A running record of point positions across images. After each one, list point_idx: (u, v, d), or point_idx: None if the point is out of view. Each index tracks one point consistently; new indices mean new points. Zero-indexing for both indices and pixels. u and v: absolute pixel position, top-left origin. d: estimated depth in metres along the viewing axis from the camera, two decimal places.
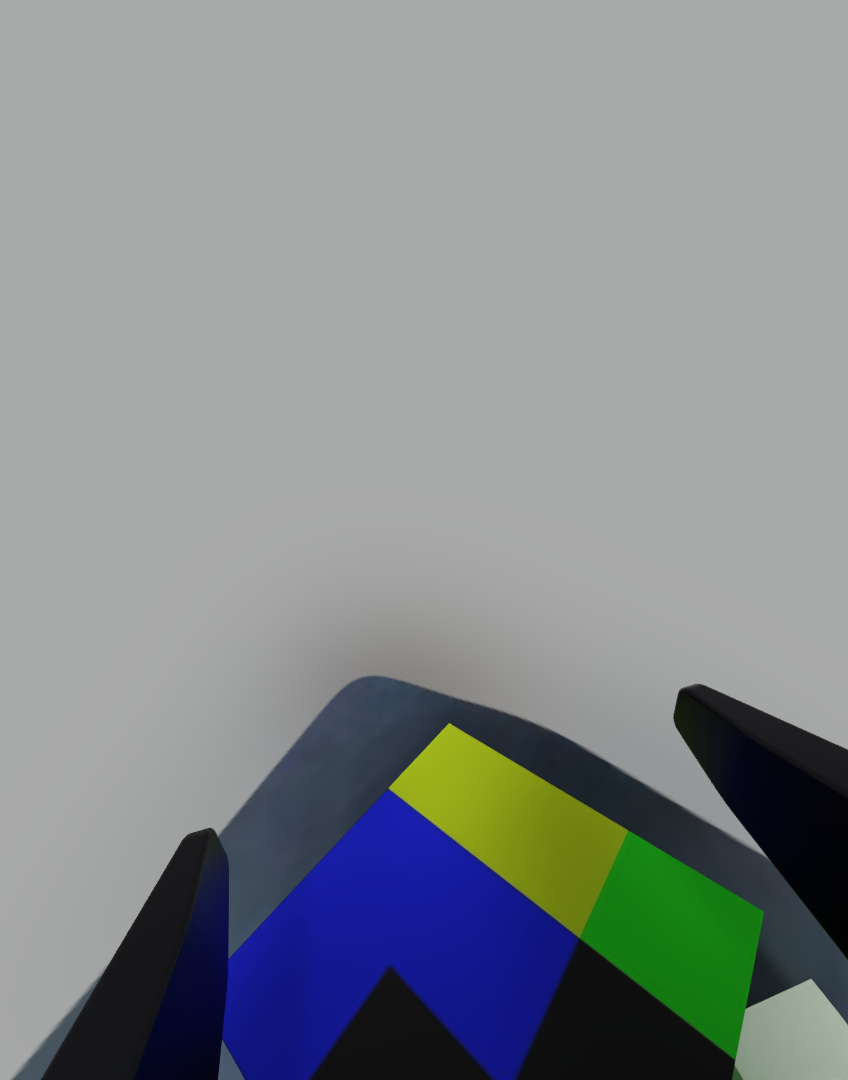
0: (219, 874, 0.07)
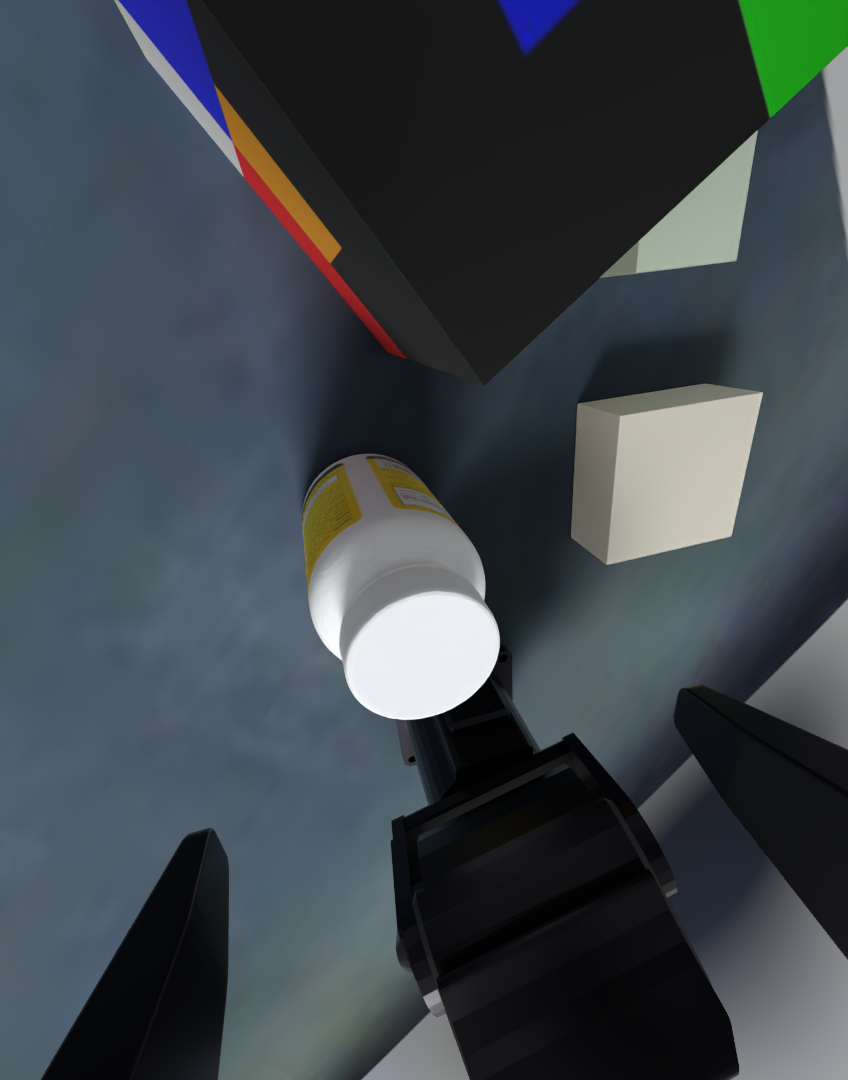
0: (219, 874, 0.07)
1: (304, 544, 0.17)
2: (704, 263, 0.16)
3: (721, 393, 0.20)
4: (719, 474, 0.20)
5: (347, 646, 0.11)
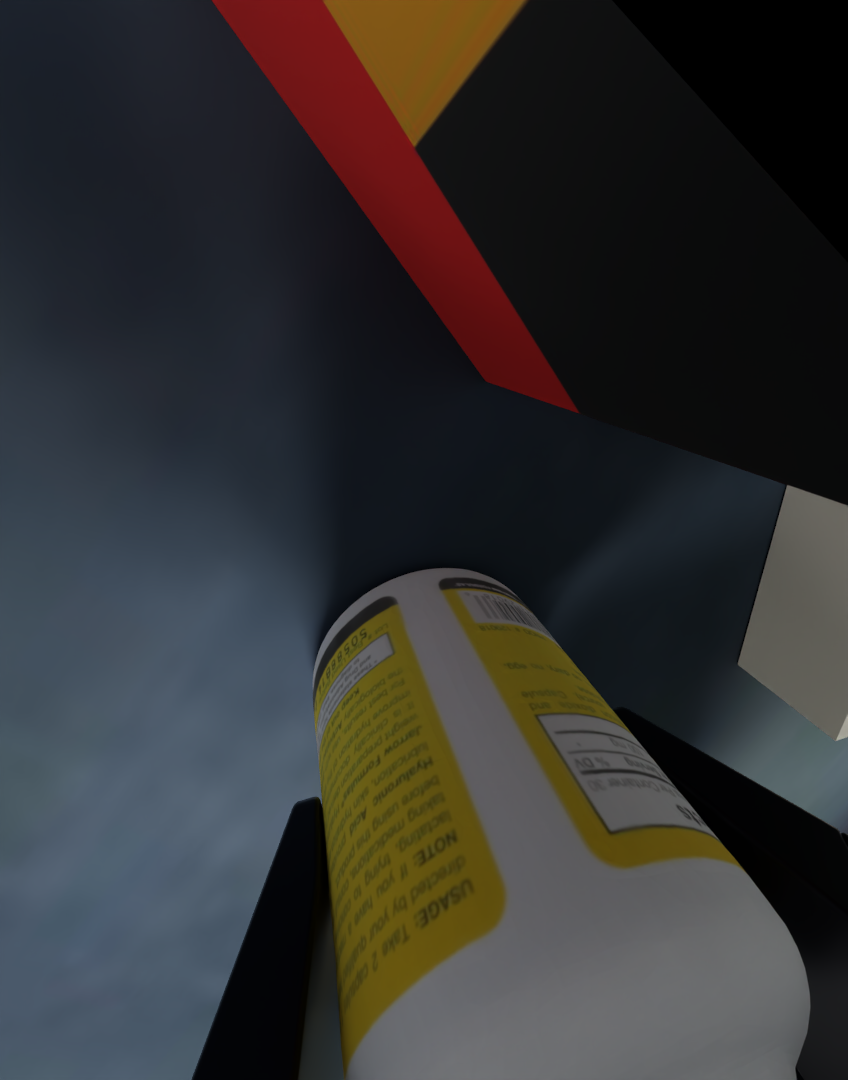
0: None
1: (322, 791, 0.08)
2: None
3: None
4: None
5: None
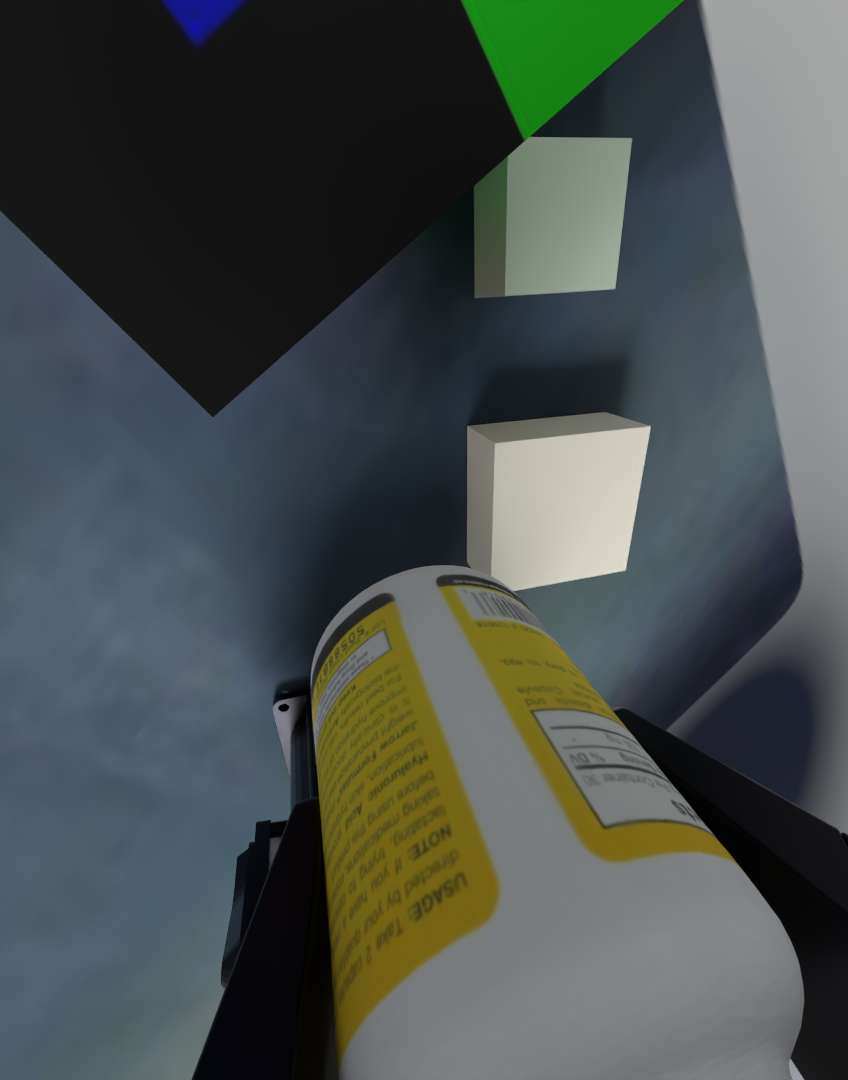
0: None
1: (318, 787, 0.08)
2: (580, 290, 0.16)
3: (611, 424, 0.19)
4: (608, 507, 0.19)
5: None
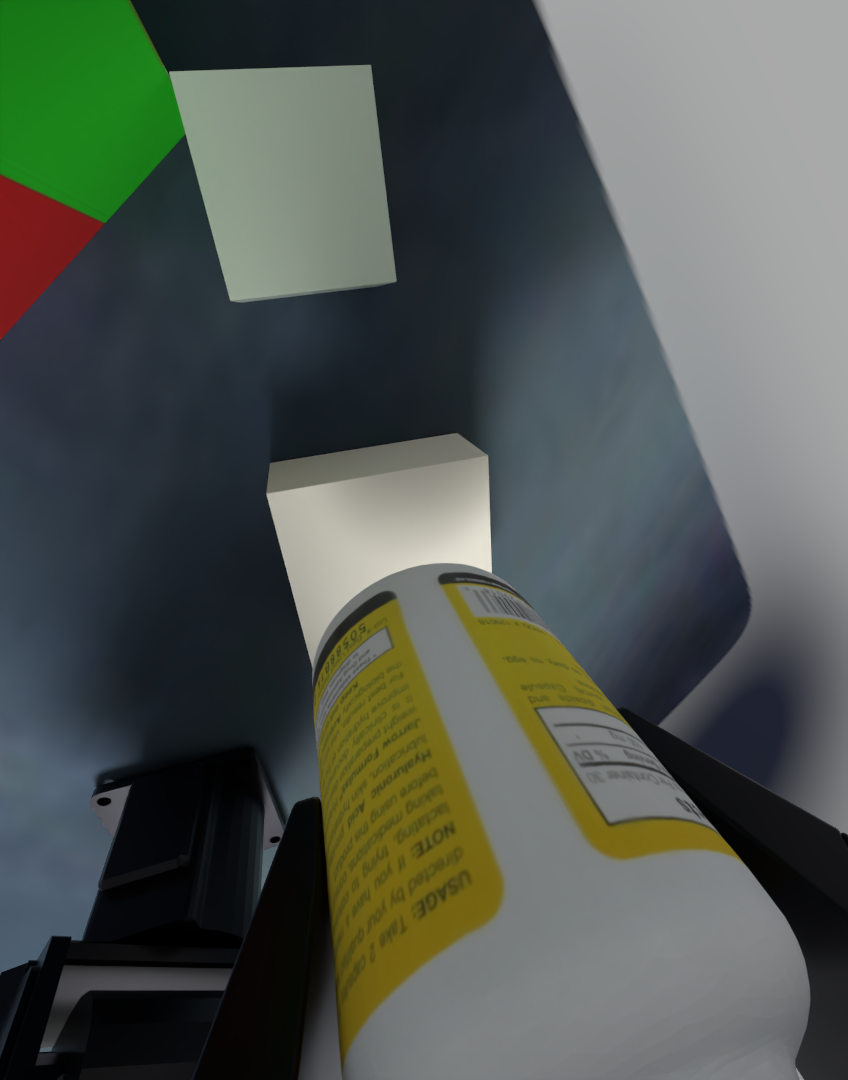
0: None
1: (320, 785, 0.08)
2: (343, 286, 0.11)
3: (443, 454, 0.15)
4: (451, 558, 0.15)
5: None
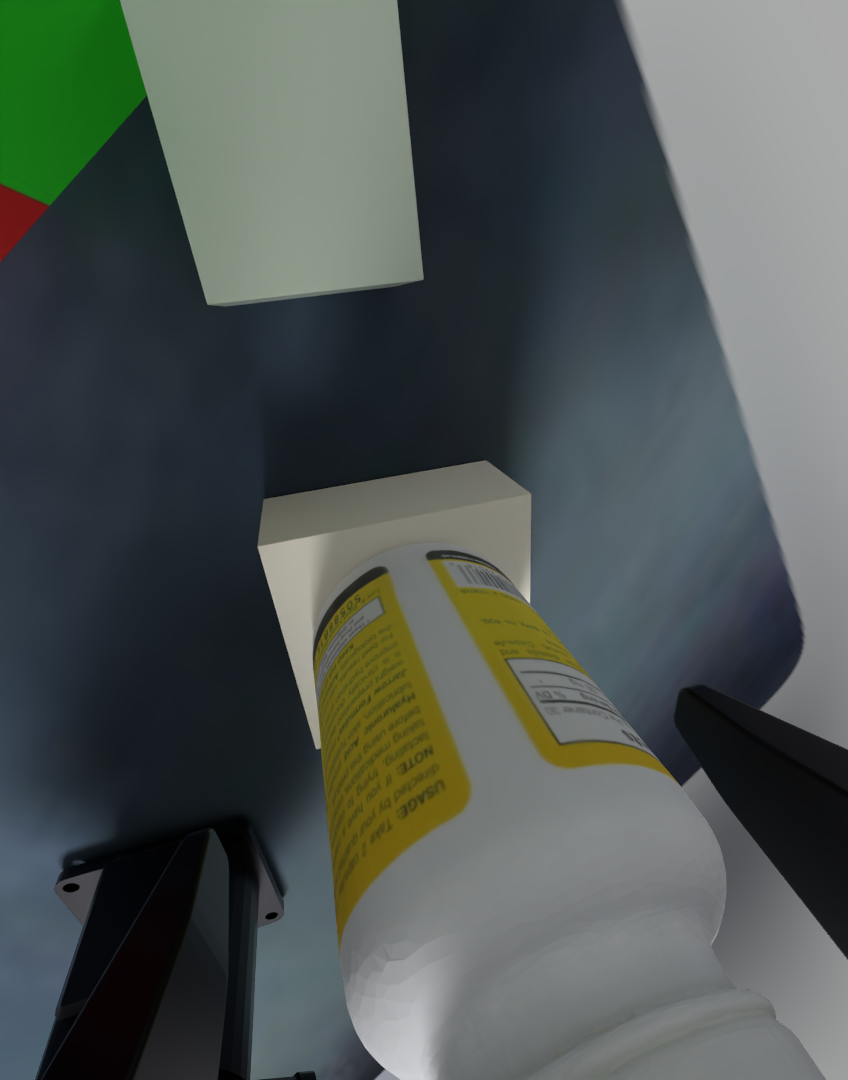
0: (219, 874, 0.07)
1: (320, 735, 0.09)
2: (355, 285, 0.09)
3: (474, 490, 0.12)
4: None
5: None
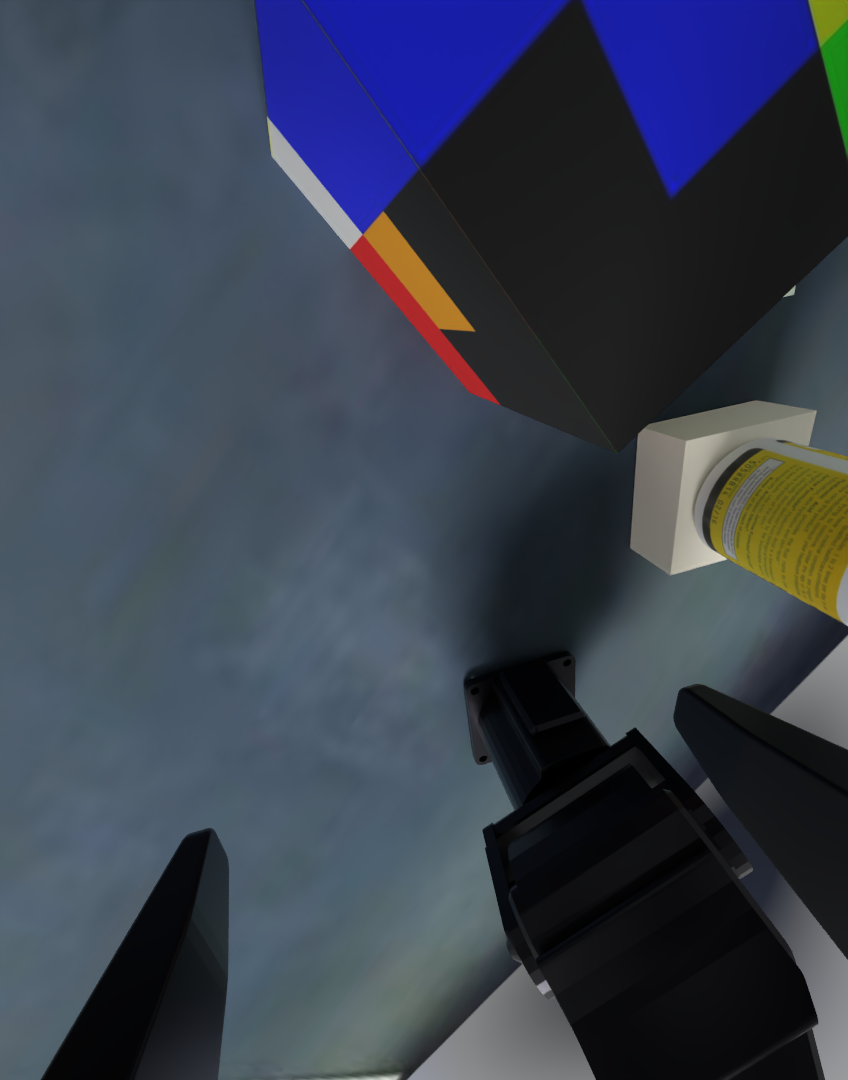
0: (219, 874, 0.07)
1: (753, 524, 0.18)
2: None
3: (776, 412, 0.21)
4: None
5: None
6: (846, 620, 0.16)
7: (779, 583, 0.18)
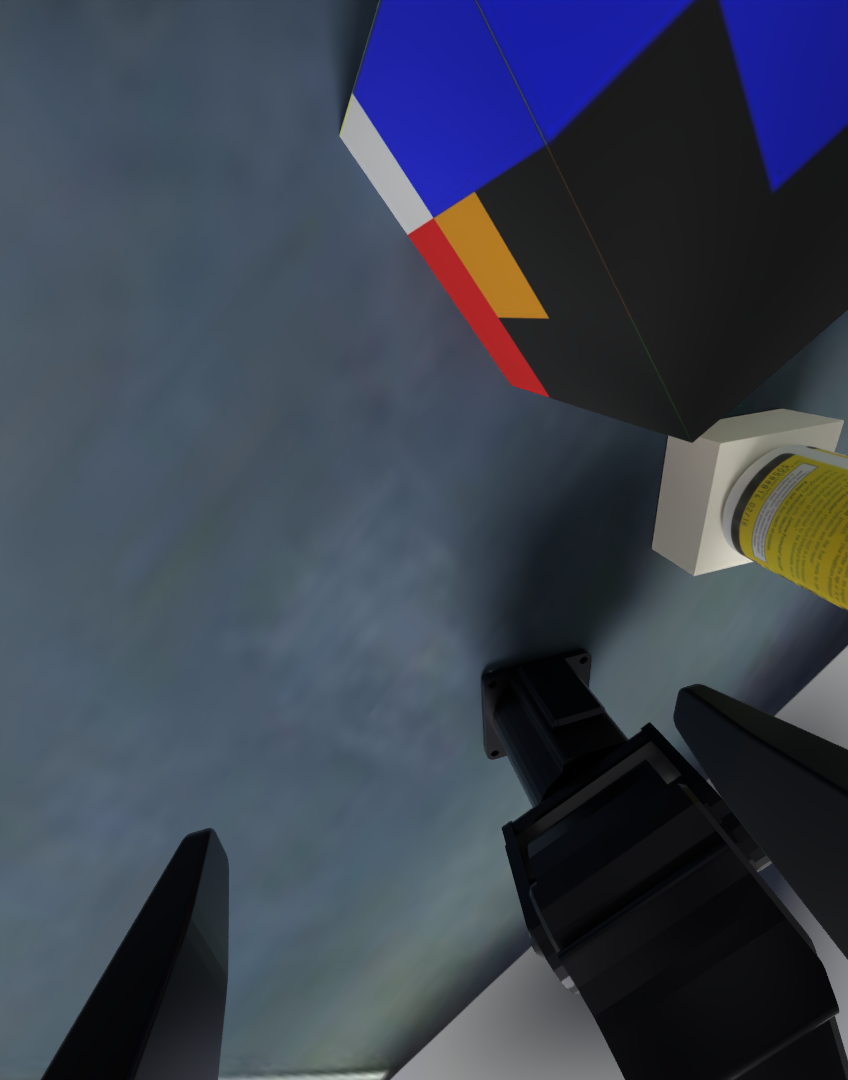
0: (219, 874, 0.07)
1: (787, 527, 0.18)
2: None
3: (804, 420, 0.21)
4: None
5: None
6: None
7: (810, 585, 0.18)
